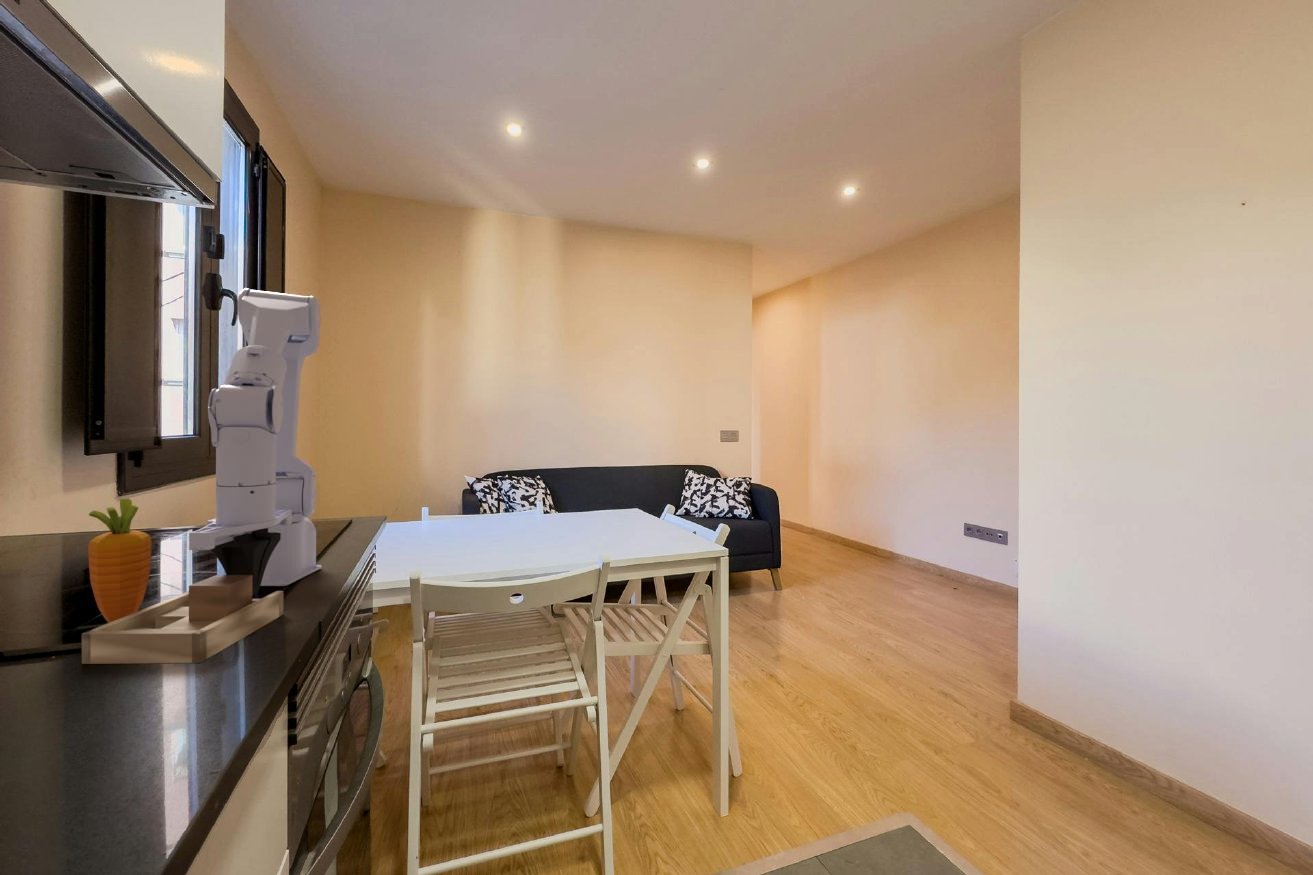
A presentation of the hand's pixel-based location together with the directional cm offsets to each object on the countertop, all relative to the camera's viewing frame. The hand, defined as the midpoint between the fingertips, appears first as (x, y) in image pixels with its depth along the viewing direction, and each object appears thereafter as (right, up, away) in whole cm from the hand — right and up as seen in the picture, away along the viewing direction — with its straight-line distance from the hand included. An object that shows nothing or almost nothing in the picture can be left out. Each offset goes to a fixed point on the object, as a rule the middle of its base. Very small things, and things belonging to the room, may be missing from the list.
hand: (245, 594), depth 63 cm
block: (0, -1, -4) cm, 4 cm away
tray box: (-2, -3, -5) cm, 6 cm away
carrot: (-11, -3, -4) cm, 12 cm away
